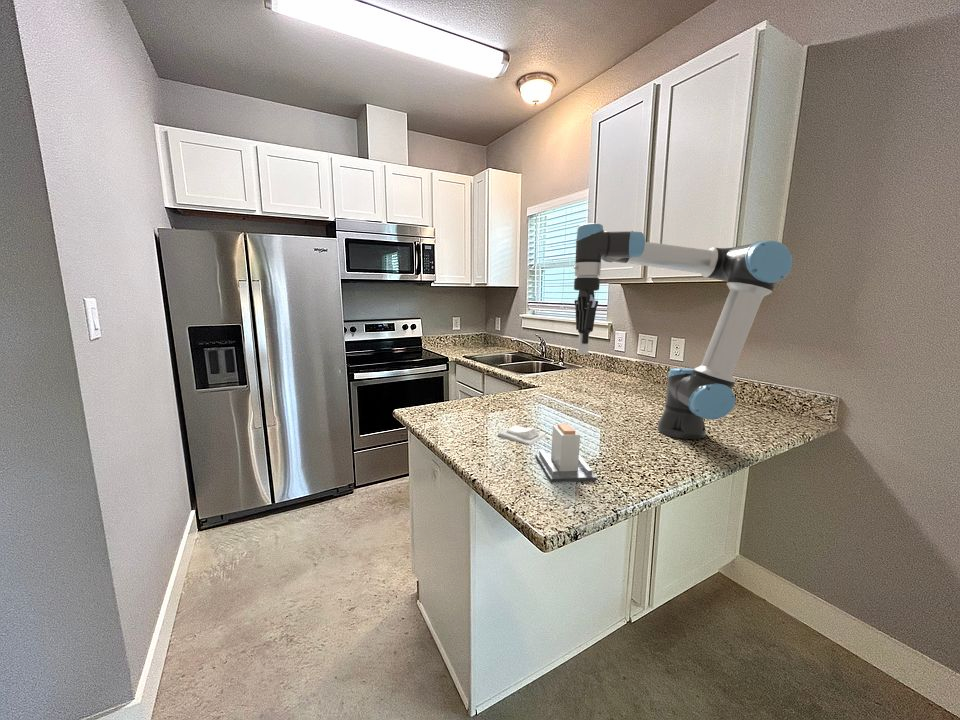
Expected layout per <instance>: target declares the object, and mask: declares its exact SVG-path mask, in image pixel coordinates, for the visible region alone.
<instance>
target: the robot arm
mask: <svg viewBox="0 0 960 720" xmlns="http://www.w3.org/2000/svg"><path fill="white" fill-rule="evenodd" d="M602 261H603V262H606V263H614V262H616V263H621V264H631V265H636V266H637V265H639V266H645V267H651V268H658V269H665V270H667V269H668V270H673V271H679V272H680V271H681V272H689V273H695V274H701V276H702V277H703V278H707V279H708V278H709V279H712V280H713V279H714V280H718V281H723V282H726V286H727V287H728V289H729V292H728V295H727V297H726V299H725V303H724V305H723V308H722V310H721V313H720V316H719V318H718V320H717V323H716V324H715V325H716V326H715V329H714V331H713V333H712V336H711V339H710V341H709V343H708V346H707V349H706V351H705V354H704V356H703V360H702V361H701V364H700V365H699V366H696V367H694V368H684V367H683V368H681V367H679V368H677V367H675V368H670V369H669V370H668V374H667V375H668V376H667V384H666V395H665V405H664V410H663V412H662V414H661V416H660V419H659V420H658V423H657V431H658V432H660V433H661V434H664V435H666V436H669V437H670V438H671V437H672V438H675V439H680V438H681V440H688V439H698V440H702V439H701V438H703V439H705V438H706V433H707V429H706V425H705V420H708V421H709V420H710V421H711V420H719V419H721V418H723V417H724V418H725V417H727V416H728V414H730V413H731V411H733V409H734V407H735V405H736V396H735V392H734V391H733V388H734V386H735V384H736V379H735V378H734V376H733V373H734V371H735V368H736V366H737V363H738V361H739V358H740V355H741V353H742V350H743V348H744V345H745V344H746V341H747V338H748V335H749V333H750V331H751V329H752V326H753V323H754V320H755V319H756V316H757V313H758V311H759V309H760V306H761V303H762V301H763V299H764V298H765V297H766V296H768V295H770V294H772V293H773V290H774V288H775V285H776V283H777V282H779V281H781V280H783V279H784V278H786V276H788V274H789V273H790V272H791V270H792V267H793V256H792V253H791V251H790V250H789V248H788V246H786V245H785V244H784V243H782V242H780V241H777V240H760V241H756V242H754V243H750V244H749V243H748V244H743V245H739V246H733V247H724V248H723V247H710V248H709V249H703V248H695V247H688V246H682V245H673V244H666V243H665V244H664V243H658V242H650V241H649V242H648V241H646V236H645V234H644V233H643V232H642V231H634V230H631V231H606V230H604V226H603V225H602V224H601V223H584V224H580V225H579V226H578V228H577V233H576V240H575V264H574V266H573V269H574V277H575V278H574V281H573V283H574V284H573V290H575V291H578V296H577V299H575V300H574V307H575V329H576V330H577V333H578V343H577V344H578V345H577V354H579V355H588V354H589V342H590V341H589V339H590V333H591V332H593V331H594V326H595V325H594V324H595V319H596V312H597V308H598V305H599V300H595V291H599V290H600V281H601V278H599V277H600V276H601V269H602V268H601V267H602ZM704 437H705V438H704Z"/></svg>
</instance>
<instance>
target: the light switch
mask: <svg viewBox="0 0 960 720" xmlns="http://www.w3.org/2000/svg"><path fill="white" fill-rule="evenodd" d="M497 436H498V437H501V438H503V439H507V440H511V441H514V442H517V443H521V444H525V445H527V446H528V445H529V446H531V445H533V444H535V443H537V442H538V441H541V440H542V439H543V438H545V437H547V435H546V434H544V433H542V432H540V431H537V430H536V428H535V427H533V426H532V427H523V426H521V425H518V424H515V425H513V426H511V427H509V428H506V429H504V430H503V431H501V432H498V433H497Z"/></svg>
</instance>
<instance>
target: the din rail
mask: <svg viewBox="0 0 960 720" xmlns="http://www.w3.org/2000/svg"><path fill="white" fill-rule="evenodd" d="M535 458H536V459H537V462H538V463H539V465H540V466H541V468H542V470H543V472H544V473H545V475H546V477H547V478H548V480H549V482H550V483H575V482H596V481H597V476H596V475H595V474H594V473H593V469H592V468H591V467H590V466H589V465H588V463H587V462H586V461H585V460H584V459H583V458H582V456H581V455H580V454H579V462H578V471H559V470H558V468H557V467H556V465H555V464H554V462H553V461H552V459H551V452H546V451H545V450H544V449H539V451H538V452H535Z"/></svg>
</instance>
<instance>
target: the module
mask: <svg viewBox="0 0 960 720" xmlns="http://www.w3.org/2000/svg"><path fill="white" fill-rule="evenodd" d="M580 444H581V434H580V433H579V431H577V430H576V429H575V428H574V427H573V426H572V425H571V424H569V423H567V422H566V423H564V422H563V423H557V424H553V425H552V436H551V452H550V453H551V459H552V461H553V462H554V464H555V465H556V467H557V468H558V470H559V471H578V462H579V455H580Z"/></svg>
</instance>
